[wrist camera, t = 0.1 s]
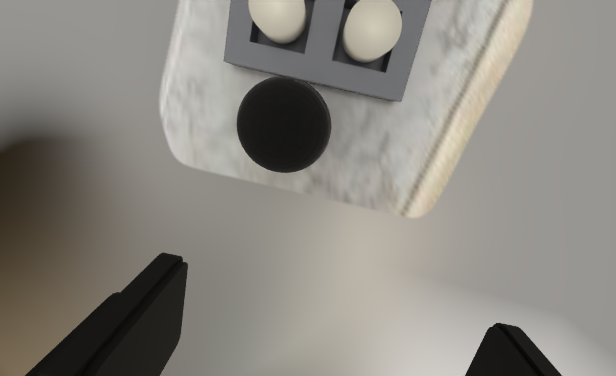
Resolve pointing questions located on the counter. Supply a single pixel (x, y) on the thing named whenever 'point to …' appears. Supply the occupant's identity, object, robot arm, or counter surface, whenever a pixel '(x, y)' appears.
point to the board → (327, 49)
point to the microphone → (283, 124)
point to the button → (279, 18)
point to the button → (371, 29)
